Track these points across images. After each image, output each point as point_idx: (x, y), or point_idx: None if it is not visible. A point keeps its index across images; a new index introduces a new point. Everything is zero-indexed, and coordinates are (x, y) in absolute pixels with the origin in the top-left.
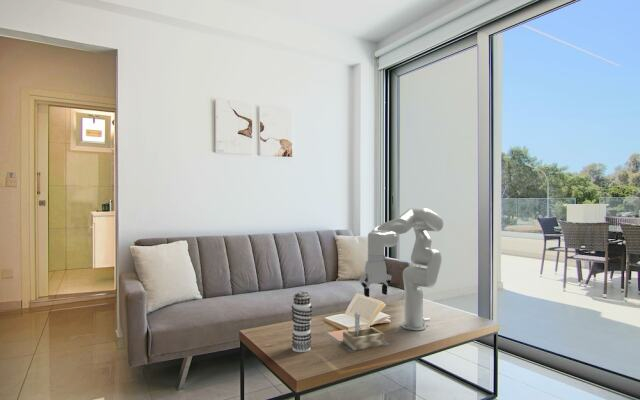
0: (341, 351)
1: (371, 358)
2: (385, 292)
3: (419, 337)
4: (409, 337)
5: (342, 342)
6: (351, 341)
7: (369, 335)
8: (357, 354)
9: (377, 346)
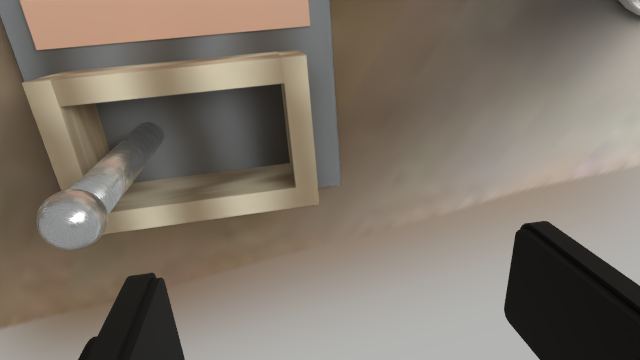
0: (34, 165)
1: (176, 279)
2: (526, 341)
3: (558, 115)
4: (514, 97)
5: (58, 70)
6: None
7: (205, 211)
8: None
9: None
